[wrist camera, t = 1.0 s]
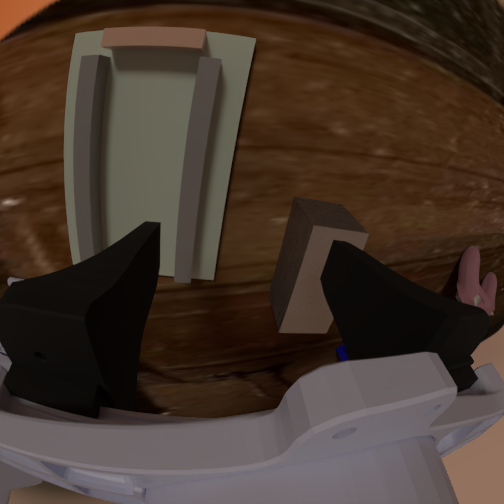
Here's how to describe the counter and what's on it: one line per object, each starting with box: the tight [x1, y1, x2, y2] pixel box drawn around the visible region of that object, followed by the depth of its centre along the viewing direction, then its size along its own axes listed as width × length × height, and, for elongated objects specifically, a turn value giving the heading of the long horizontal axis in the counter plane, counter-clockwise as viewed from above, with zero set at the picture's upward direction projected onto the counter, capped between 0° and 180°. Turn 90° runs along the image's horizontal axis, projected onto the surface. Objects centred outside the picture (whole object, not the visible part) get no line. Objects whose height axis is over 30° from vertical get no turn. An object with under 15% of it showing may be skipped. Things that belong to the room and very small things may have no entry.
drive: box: [269, 196, 369, 333], centre depth 22 cm, size 9×4×5 cm, turn 170°
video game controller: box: [456, 245, 497, 316], centre depth 27 cm, size 10×5×7 cm, turn 57°
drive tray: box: [64, 27, 256, 283], centre depth 17 cm, size 18×12×3 cm, turn 169°
